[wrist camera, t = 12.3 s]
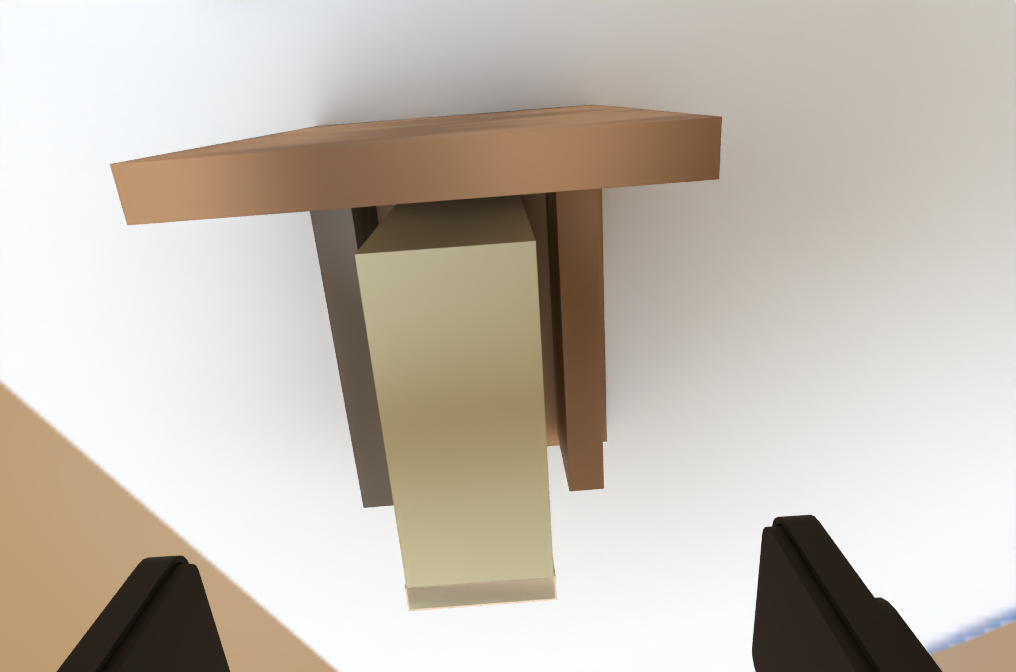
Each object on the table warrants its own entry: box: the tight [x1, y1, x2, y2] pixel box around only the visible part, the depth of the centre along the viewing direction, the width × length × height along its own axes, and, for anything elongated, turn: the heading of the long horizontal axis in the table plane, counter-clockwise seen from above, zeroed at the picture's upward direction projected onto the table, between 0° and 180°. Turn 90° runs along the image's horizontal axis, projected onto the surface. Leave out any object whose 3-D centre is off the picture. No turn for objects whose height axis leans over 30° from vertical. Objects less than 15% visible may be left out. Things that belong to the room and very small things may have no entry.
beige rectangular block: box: [355, 195, 557, 611], centre depth 20 cm, size 4×10×9 cm, turn 4°
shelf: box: [110, 105, 722, 508], centre depth 19 cm, size 10×13×14 cm
